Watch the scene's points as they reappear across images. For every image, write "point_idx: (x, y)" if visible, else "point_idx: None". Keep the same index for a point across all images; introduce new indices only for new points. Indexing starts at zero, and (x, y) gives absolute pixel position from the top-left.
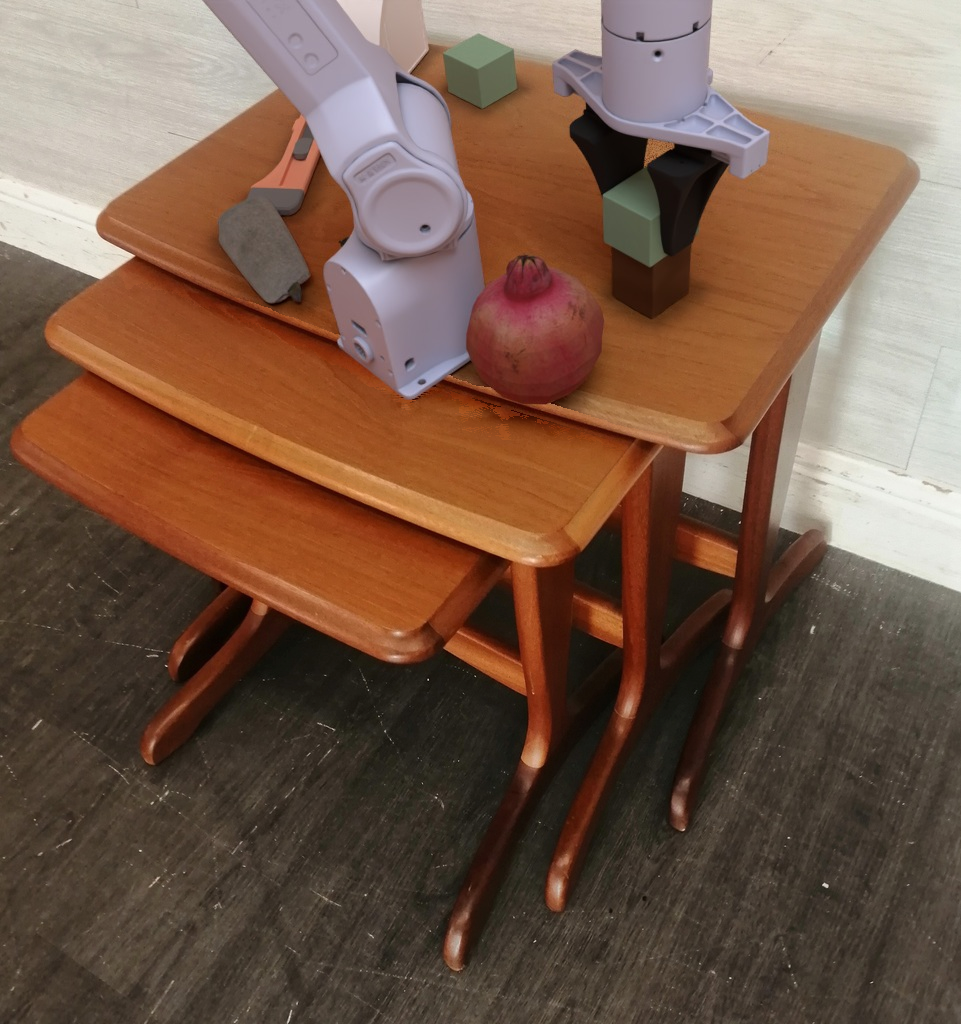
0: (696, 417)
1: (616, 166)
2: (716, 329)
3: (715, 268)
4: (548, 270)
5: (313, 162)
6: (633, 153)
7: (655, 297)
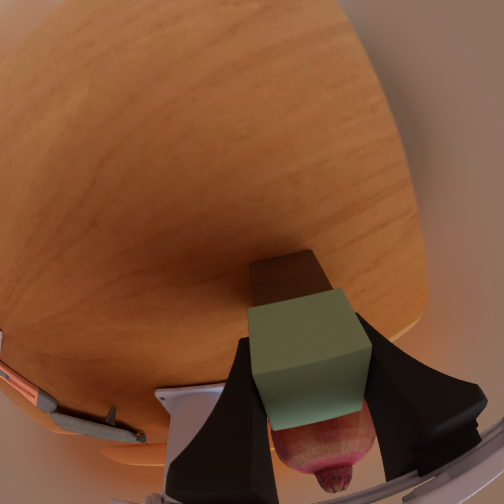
0: (413, 320)
1: (266, 442)
2: (370, 259)
3: (297, 198)
4: (349, 475)
5: (12, 375)
6: (259, 430)
7: None
